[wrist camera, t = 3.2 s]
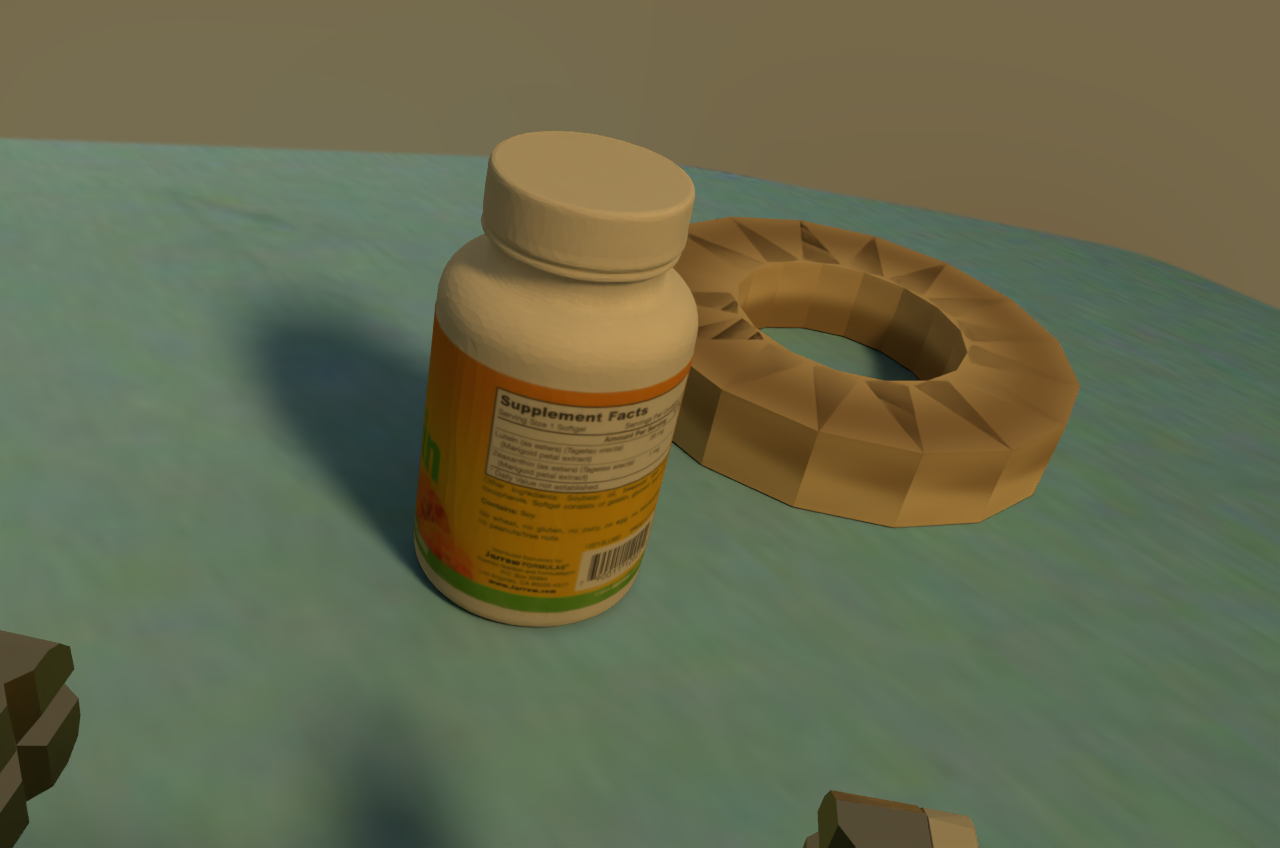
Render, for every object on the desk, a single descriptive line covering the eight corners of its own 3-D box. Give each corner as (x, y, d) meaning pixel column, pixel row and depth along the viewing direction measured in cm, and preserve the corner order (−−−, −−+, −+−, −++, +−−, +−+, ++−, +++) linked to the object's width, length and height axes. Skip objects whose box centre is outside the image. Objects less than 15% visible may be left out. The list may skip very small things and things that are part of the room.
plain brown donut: (589, 464, 30) (604, 386, 28) (635, 250, 41) (648, 187, 40) (1093, 568, 30) (1133, 497, 29) (998, 327, 42) (1023, 268, 40)
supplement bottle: (429, 469, 28) (467, 97, 23) (636, 498, 29) (720, 143, 24) (393, 619, 24) (431, 200, 18) (640, 649, 24) (744, 252, 19)
